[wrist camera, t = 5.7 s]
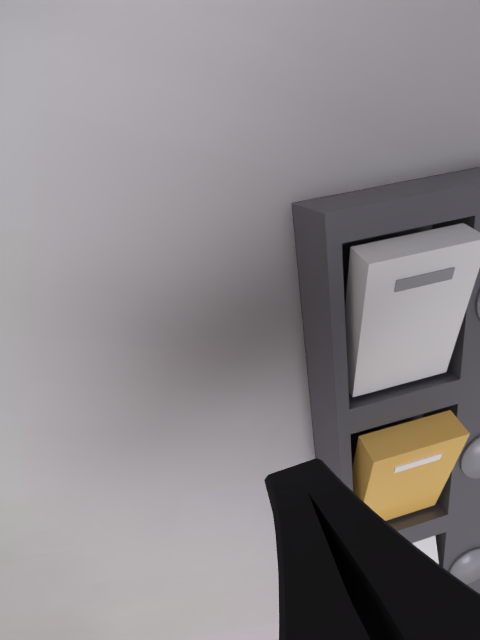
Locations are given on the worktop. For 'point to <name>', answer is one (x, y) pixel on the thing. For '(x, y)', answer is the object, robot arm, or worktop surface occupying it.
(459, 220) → the power strip
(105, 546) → the worktop surface
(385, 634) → the robot arm
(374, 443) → the rocker mid
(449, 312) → the rocker
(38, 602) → the worktop surface
